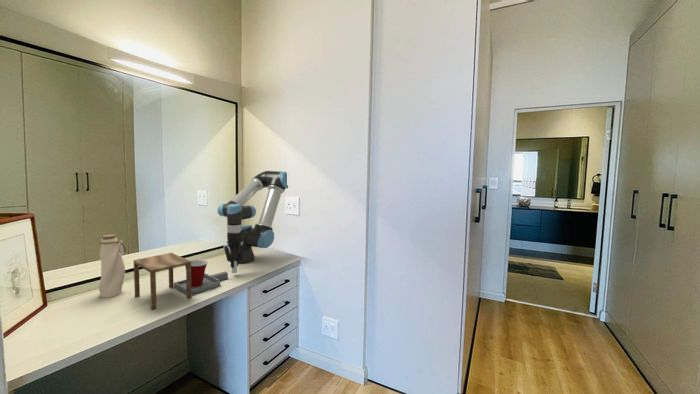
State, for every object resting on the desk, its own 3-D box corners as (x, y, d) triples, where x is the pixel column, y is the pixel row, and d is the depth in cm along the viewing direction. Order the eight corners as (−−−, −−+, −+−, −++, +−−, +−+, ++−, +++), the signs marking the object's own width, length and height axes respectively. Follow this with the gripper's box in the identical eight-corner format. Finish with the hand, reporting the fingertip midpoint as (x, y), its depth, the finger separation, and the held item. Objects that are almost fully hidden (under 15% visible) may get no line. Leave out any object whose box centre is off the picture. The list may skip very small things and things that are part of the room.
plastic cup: (212, 283, 149) (212, 261, 148) (192, 290, 140) (192, 266, 138) (200, 279, 154) (200, 257, 153) (179, 285, 145) (179, 262, 144)
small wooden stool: (172, 286, 146) (171, 252, 145) (191, 297, 135) (190, 261, 133) (134, 296, 133) (133, 260, 132) (152, 310, 122) (151, 270, 120)
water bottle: (125, 287, 143) (123, 232, 140) (128, 293, 136) (126, 235, 134) (98, 293, 135) (95, 234, 133) (99, 299, 129) (97, 238, 126)
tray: (218, 274, 164) (218, 268, 164) (234, 281, 155) (234, 275, 155) (173, 286, 145) (173, 280, 145) (188, 295, 136) (188, 289, 136)
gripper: (240, 229, 169) (240, 268, 171) (219, 232, 158) (219, 274, 160) (248, 231, 164) (248, 271, 167) (227, 234, 154) (227, 277, 156)
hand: (234, 272), depth 163 cm, fingers closed
